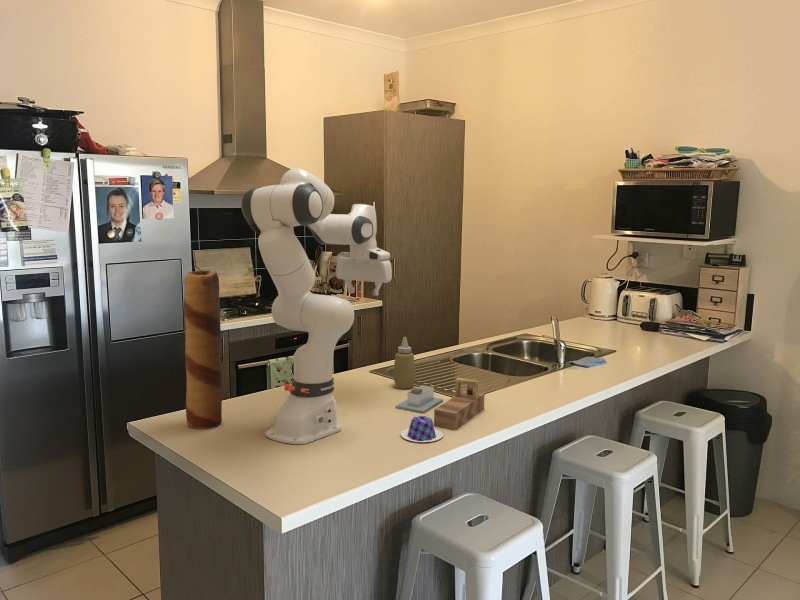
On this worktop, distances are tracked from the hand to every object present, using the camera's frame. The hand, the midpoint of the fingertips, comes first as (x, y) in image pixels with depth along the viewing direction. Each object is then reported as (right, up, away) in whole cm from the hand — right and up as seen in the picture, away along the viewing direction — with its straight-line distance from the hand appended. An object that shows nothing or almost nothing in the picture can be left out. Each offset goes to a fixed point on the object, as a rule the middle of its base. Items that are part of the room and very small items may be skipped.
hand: (363, 294), depth 219 cm
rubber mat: (+19, -36, -7) cm, 41 cm away
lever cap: (+19, -35, -7) cm, 40 cm away
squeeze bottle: (+14, -33, +12) cm, 38 cm away
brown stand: (+31, -38, -18) cm, 52 cm away
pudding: (+18, -41, -34) cm, 56 cm away
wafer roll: (-45, -39, -27) cm, 65 cm away
